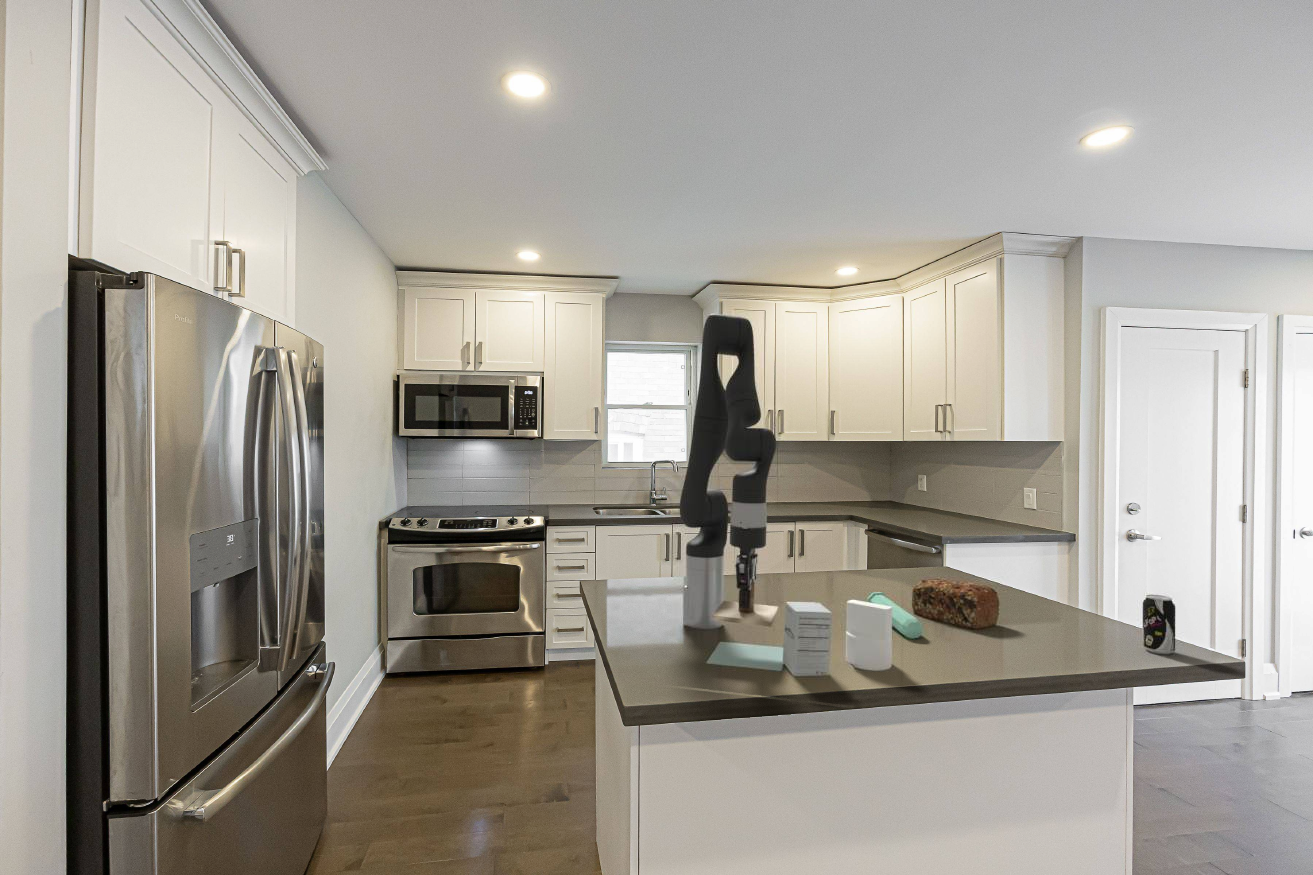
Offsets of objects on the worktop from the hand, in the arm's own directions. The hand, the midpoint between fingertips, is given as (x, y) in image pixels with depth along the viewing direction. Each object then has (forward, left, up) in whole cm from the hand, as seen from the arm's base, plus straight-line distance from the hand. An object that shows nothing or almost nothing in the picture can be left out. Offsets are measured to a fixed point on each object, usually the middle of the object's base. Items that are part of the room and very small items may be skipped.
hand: (746, 604), depth 141 cm
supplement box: (+12, -5, -11) cm, 17 cm away
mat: (+1, 0, -11) cm, 11 cm away
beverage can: (+86, +31, -11) cm, 92 cm away
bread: (+46, +46, -11) cm, 66 cm away
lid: (0, 0, -2) cm, 2 cm away
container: (+31, +36, -11) cm, 49 cm away
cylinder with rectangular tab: (+25, +4, -11) cm, 27 cm away
